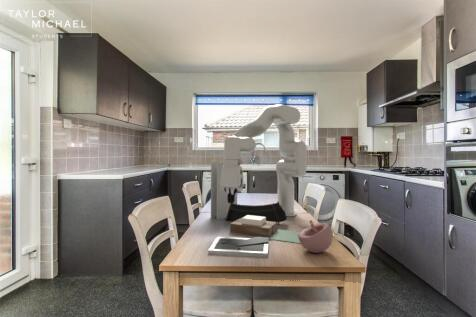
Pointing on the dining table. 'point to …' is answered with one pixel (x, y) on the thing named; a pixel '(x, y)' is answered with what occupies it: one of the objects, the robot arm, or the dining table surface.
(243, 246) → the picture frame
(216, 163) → the tall grey block
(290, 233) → the mat
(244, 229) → the block
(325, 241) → the mortar and pestle
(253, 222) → the tile
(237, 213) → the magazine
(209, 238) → the dining table surface
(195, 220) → the dining table surface
